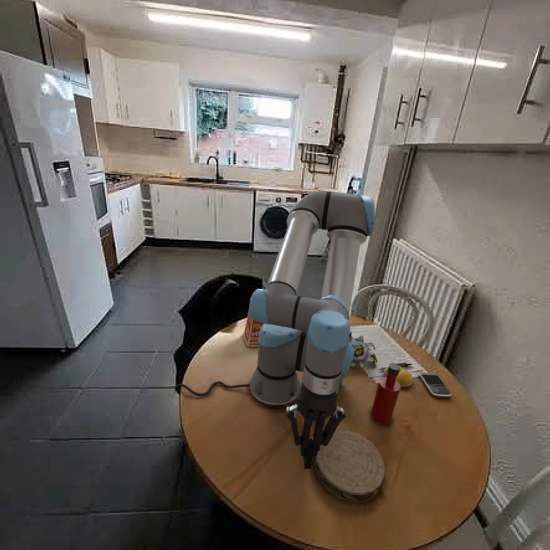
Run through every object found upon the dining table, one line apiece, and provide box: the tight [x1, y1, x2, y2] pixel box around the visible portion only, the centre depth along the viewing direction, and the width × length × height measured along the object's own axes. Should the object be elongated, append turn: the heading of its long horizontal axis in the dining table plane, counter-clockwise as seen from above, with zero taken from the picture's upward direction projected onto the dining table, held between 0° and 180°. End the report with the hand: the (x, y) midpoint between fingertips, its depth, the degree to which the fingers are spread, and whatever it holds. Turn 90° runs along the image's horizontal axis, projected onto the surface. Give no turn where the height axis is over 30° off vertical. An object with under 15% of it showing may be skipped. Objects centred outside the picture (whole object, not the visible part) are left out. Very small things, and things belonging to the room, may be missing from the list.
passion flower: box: [350, 334, 378, 368], centre depth 110 cm, size 11×11×12 cm
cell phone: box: [418, 372, 452, 398], centre depth 102 cm, size 6×11×1 cm, turn 1°
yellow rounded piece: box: [383, 364, 414, 388], centre depth 104 cm, size 8×9×4 cm
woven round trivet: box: [313, 429, 385, 503], centre depth 73 cm, size 16×16×3 cm
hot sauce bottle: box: [370, 362, 402, 426], centre depth 85 cm, size 6×6×18 cm
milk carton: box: [242, 298, 265, 348], centre depth 115 cm, size 9×9×20 cm
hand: (306, 463), depth 72 cm, fingers closed
